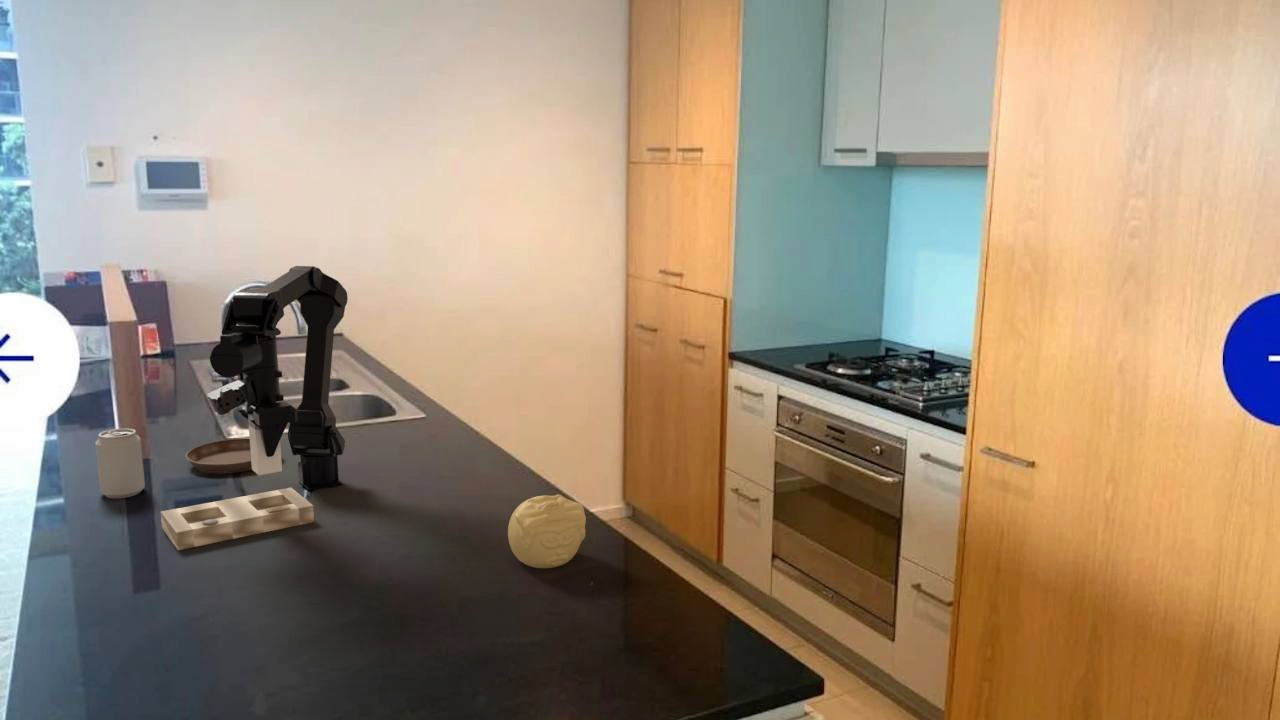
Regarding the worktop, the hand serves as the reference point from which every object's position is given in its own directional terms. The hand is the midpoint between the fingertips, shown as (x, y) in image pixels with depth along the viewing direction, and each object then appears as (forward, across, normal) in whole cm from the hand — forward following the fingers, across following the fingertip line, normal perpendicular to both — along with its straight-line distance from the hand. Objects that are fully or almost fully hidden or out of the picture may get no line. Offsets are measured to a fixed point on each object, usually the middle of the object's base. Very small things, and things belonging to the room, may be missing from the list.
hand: (266, 453), depth 171 cm
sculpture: (+12, +44, +30) cm, 55 cm away
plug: (+3, 0, 0) cm, 3 cm away
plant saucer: (+12, -38, +3) cm, 40 cm away
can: (+12, -30, -19) cm, 37 cm away
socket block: (+12, 0, -6) cm, 13 cm away
